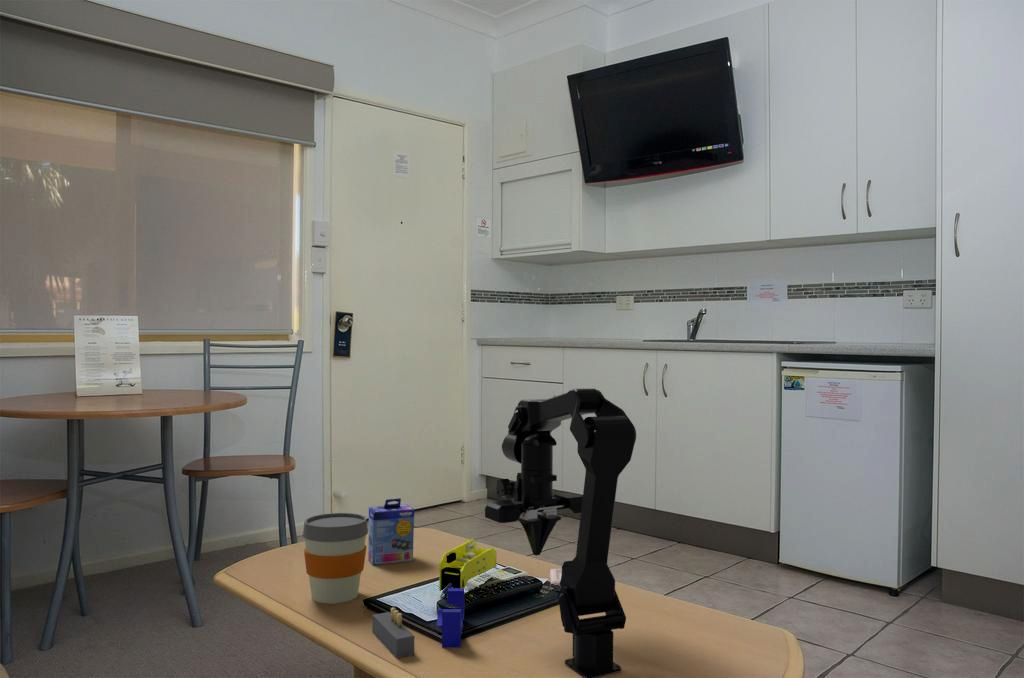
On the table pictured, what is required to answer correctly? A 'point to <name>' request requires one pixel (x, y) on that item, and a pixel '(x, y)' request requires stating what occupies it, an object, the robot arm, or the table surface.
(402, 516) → the ink cartridge box
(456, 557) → the yellow toy chassis
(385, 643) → the header strip
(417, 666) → the table surface
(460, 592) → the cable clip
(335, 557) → the reusable coffee cup
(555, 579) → the soap bar
